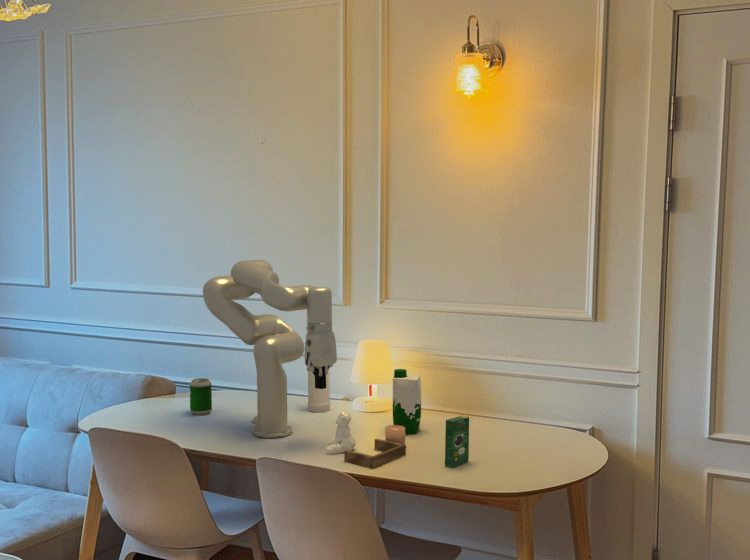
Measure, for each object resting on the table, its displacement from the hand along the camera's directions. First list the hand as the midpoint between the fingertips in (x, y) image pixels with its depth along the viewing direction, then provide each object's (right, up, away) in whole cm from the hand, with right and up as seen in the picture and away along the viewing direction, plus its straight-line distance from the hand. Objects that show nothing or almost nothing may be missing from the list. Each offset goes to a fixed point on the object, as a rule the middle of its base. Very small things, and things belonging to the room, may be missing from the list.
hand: (320, 388), depth 226 cm
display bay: (+16, -18, -11) cm, 27 cm away
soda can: (-45, -15, +39) cm, 61 cm away
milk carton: (+27, -17, +16) cm, 35 cm away
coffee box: (+39, -19, -17) cm, 47 cm away
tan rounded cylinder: (+23, -18, -1) cm, 29 cm away
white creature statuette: (+6, -18, -4) cm, 20 cm away
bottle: (-4, -14, +43) cm, 46 cm away
